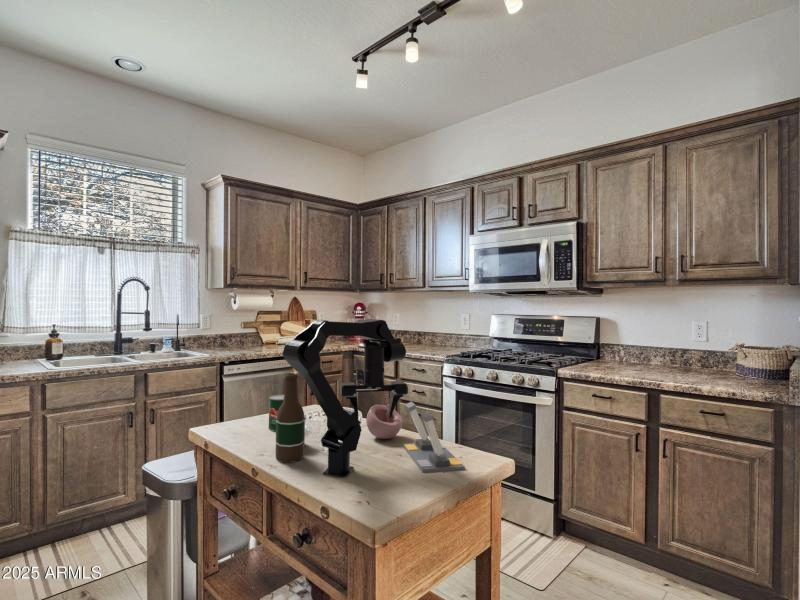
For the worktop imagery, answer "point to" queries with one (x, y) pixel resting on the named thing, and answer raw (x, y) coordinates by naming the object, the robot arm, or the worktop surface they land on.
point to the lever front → (432, 433)
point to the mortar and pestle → (383, 422)
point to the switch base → (426, 457)
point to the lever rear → (417, 421)
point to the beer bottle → (290, 424)
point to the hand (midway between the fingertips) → (373, 418)
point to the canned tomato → (274, 410)
